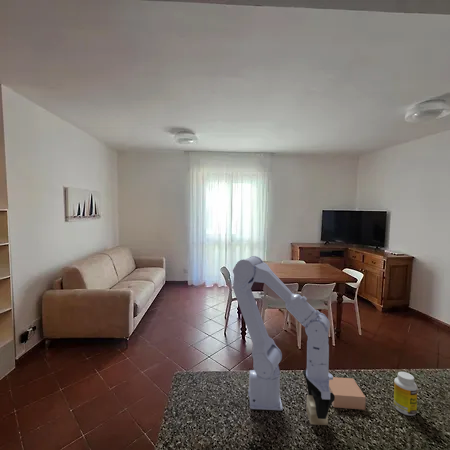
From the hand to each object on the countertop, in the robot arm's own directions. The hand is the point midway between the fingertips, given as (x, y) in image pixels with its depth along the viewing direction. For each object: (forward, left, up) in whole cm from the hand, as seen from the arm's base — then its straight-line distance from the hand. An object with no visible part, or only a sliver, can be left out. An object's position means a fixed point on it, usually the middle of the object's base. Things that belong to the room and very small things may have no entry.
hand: (317, 407), depth 72 cm
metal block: (0, 0, -3) cm, 3 cm away
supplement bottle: (+27, +5, -3) cm, 28 cm away
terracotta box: (+11, +9, -4) cm, 15 cm away
